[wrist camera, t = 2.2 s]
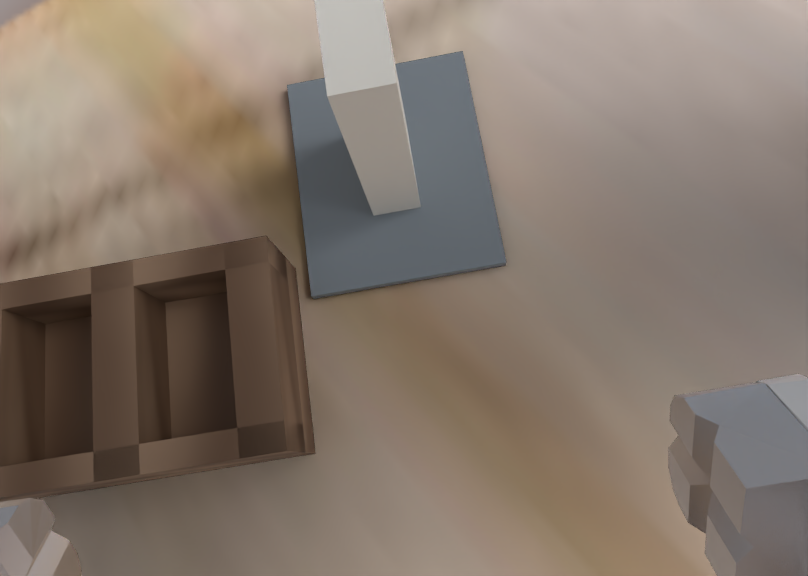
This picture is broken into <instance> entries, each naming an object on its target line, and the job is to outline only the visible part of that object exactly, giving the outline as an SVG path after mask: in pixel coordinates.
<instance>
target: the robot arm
mask: <svg viewBox="0 0 808 576" xmlns="http://www.w3.org/2000/svg"><path fill="white" fill-rule="evenodd" d="M670 422H671V424H672V425H673V427H674V429H675V430H676V432H677V434H678V435H679V436H678V437H677V438H676V439H675V440H674V442H673V443H672V444H671V445H670V446H669V448H668V468H669V473H670V478H671V483H672V487H673V491H674V493H675V496H676V499H677V501H678V504H679V506H680V508H681V510H682V512H683V514H684V516H685V518H686V520H687V522H688V523H690V524H691V525H693V526H694V527H696V528H698V529H699V530H701V531H702V532H704V533H706V541H705V555H706V557H707V558H708V560H709V562H710V564H711V566H712V567H713V569H714V571H715V573H716V575H717V576H808V377H806V376H803V375H801V374H794V375H788V376H783V377H777V378H771V379H766V380H760V381H757V382H755V383H746V384H740V385H734V386H728V387H722V388H716V389H710V390H704V391H698V392H692V393H686V394H680V395H674V397H673V400H672V402H671V405H670ZM55 518H56V517H55V516H54V514H53V513H52V511H51V510H50V508H49V507H48V506H47V504H46V503H45V501H44V500H43V499H35V498H25V499H18V500H10V501H3V502H0V576H81V571H82V570H81V566H80V562H79V557H78V553H77V552H76V550H75V548H74V547H73V545H72V543H71V542H70V540H68V539H66V538H64V537H62V536H61V535H59V534H57V533H55V532H53V531H51V530H52V527H53V524H54V521H55Z"/></svg>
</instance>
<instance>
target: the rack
mask: <svg viewBox="0 0 808 576" xmlns="http://www.w3.org/2000/svg"><path fill="white" fill-rule="evenodd" d="M309 454H315V445H314V435H313V426H312V417H311V408H310V399H309V389H308V380H307V371H306V362H305V352H304V343H303V334H302V325H301V315H300V306H299V297H298V288H297V279H296V269H295V268H294V266H293V265H292V264H291V263H290V262H289V261H288V260H287V259H286V257H285V256H284V255H283V254H282V253H281V252H280V251H279V250H278V248H277V247H276V246H275V245H274V244H273V243H272V242H271V241H270V239H269V238H268V237H267V236H262V237H256V238H251V239H245V240H240V241H234V242H228V243H223V244H217V245H212V246H206V247H201V248H195V249H190V250H184V251H179V252H173V253H168V254H162V255H157V256H151V257H145V258H140V259H134V260H129V261H123V262H118V263H112V264H107V265H101V266H96V267H90V268H85V269H79V270H74V271H68V272H62V273H57V274H51V275H46V276H40V277H35V278H29V279H24V280H18V281H13V282H7V283H2V284H0V502H3V501H10V500H18V499H25V498H41V497H47V496H53V495H60V494H66V493H72V492H78V491H84V490H91V489H97V488H103V487H109V486H116V485H122V484H128V483H134V482H140V481H147V480H153V479H159V478H165V477H172V476H178V475H184V474H190V473H196V472H203V471H209V470H215V469H221V468H228V467H234V466H240V465H246V464H253V463H259V462H265V461H271V460H277V459H284V458H290V457H296V456H302V455H309Z"/></svg>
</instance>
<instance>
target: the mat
mask: <svg viewBox="0 0 808 576" xmlns="http://www.w3.org/2000/svg"><path fill="white" fill-rule="evenodd" d="M395 65H396V71H397V76H398V81H399V87H400V92H401V97H402V102H403V108H404V113H405V118H406V124H407V130H408V135H409V141H410V147H411V153H412V159H413V165H414V170H415V176H416V182H417V188H418V194H419V200H420V205H421V207H419V208H414V209H408V210H403V211H397V212H391V213H386V214H380V215H375V216H374V215H373V213H372V210H371V208H370V205H369V203H368V200H367V197H366V195H365V192H364V190H363V187H362V185H361V182H360V180H359V177H358V174H357V172H356V169H355V167H354V164H353V162H352V159H351V156H350V154H349V151H348V149H347V146H346V144H345V141H344V138H343V136H342V133H341V131H340V128H339V126H338V123H337V120H336V118H335V115H334V113H333V110H332V108H331V105H330V102H329V100H328V97H327V91H326V84H325V78H321V79H316V80H311V81H306V82H300V83H295V84H290V85H287V88H288V97H289V106H290V114H291V123H292V132H293V141H294V150H295V158H296V167H297V176H298V185H299V193H300V202H301V211H302V220H303V228H304V237H305V246H306V255H307V263H308V272H309V281H310V290H311V297H312V298H313V299H316V298H321V297H327V296H333V295H339V294H344V293H350V292H356V291H362V290H367V289H373V288H379V287H385V286H390V285H396V284H402V283H408V282H413V281H419V280H425V279H430V278H436V277H442V276H448V275H453V274H459V273H465V272H471V271H476V270H482V269H488V268H494V267H499V266H505V265H506V258H505V253H504V248H503V243H502V238H501V234H500V229H499V224H498V219H497V214H496V209H495V205H494V200H493V195H492V190H491V185H490V180H489V176H488V171H487V166H486V161H485V156H484V151H483V147H482V142H481V137H480V132H479V127H478V122H477V118H476V113H475V108H474V103H473V98H472V93H471V89H470V84H469V79H468V74H467V69H466V64H465V60H464V55H463V51H460V52H455V53H450V54H445V55H440V56H435V57H429V58H424V59H419V60H414V61H409V62H404V63H398V64H395Z"/></svg>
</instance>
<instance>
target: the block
mask: <svg viewBox="0 0 808 576" xmlns="http://www.w3.org/2000/svg"><path fill="white" fill-rule="evenodd" d="M314 2H315V9H316V17H317V24H318V32H319V39H320V47H321V54H322V61H323V69H324V76H325V84H326V91H327V97H328V100H329V102H330V105H331V108H332V110H333V113H334V115H335V118H336V120H337V123H338V126H339V128H340V131H341V133H342V136H343V138H344V141H345V144H346V146H347V149H348V151H349V154H350V156H351V159H352V162H353V164H354V167H355V169H356V172H357V174H358V177H359V180H360V182H361V185H362V187H363V190H364V192H365V195H366V197H367V200H368V203H369V205H370V208H371V210H372V213H373V215H374V216H375V215H380V214H386V213H391V212H397V211H403V210H408V209H414V208H419V207H421V205H420V200H419V194H418V188H417V182H416V176H415V170H414V165H413V159H412V153H411V147H410V141H409V135H408V130H407V124H406V118H405V113H404V108H403V102H402V97H401V92H400V87H399V81H398V76H397V71H396V65H395V60H394V55H393V49H392V44H391V39H390V34H389V28H388V23H387V18H386V12H385V7H384V2H383V0H314Z"/></svg>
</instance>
